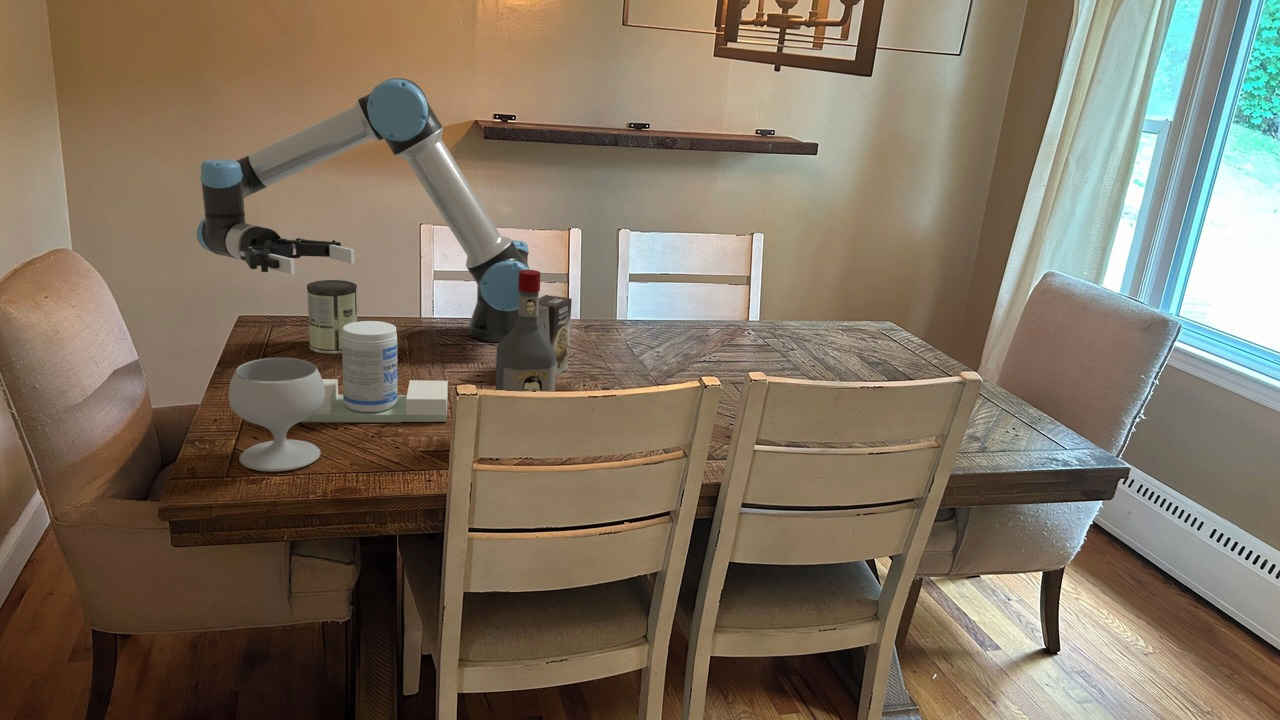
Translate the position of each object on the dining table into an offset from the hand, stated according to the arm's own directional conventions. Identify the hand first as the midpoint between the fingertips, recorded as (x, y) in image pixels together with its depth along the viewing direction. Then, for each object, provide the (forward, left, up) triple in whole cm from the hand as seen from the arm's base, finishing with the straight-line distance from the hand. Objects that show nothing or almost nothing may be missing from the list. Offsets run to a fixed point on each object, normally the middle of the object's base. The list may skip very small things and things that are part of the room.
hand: (323, 261), depth 169 cm
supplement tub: (-10, +16, -23) cm, 30 cm away
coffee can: (+2, -23, -25) cm, 34 cm away
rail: (-10, +16, -24) cm, 31 cm away
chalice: (+2, +36, -25) cm, 43 cm away
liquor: (-37, +28, -25) cm, 52 cm away
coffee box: (-44, -8, -25) cm, 51 cm away
